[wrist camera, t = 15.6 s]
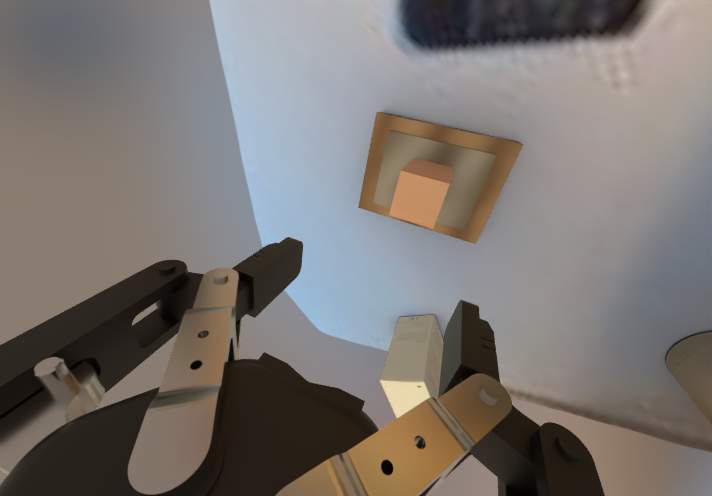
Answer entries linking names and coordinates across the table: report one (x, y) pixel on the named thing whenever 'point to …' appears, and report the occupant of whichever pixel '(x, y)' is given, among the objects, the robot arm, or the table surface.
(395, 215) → the terracotta block
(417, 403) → the small box
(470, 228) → the walnut plinth
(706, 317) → the table surface
